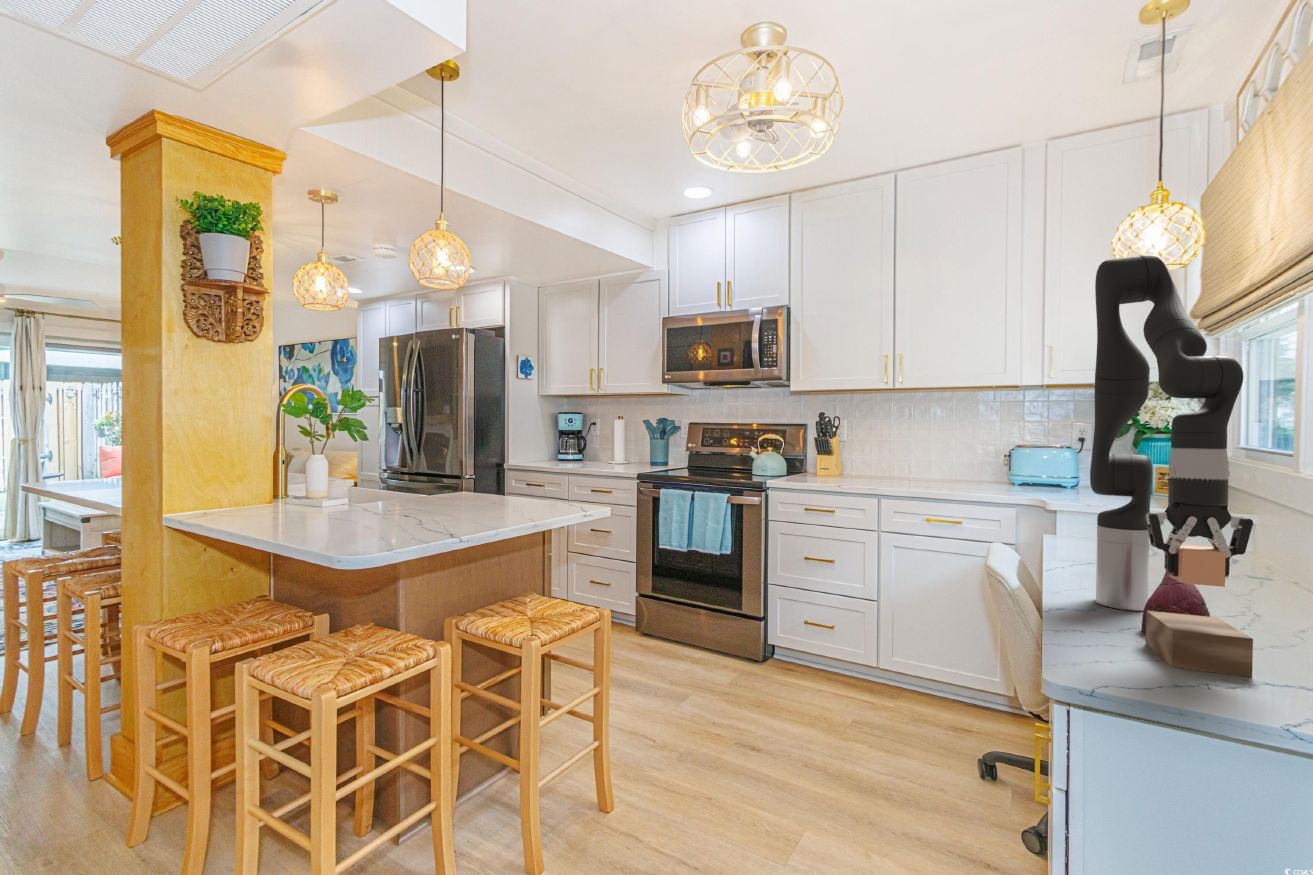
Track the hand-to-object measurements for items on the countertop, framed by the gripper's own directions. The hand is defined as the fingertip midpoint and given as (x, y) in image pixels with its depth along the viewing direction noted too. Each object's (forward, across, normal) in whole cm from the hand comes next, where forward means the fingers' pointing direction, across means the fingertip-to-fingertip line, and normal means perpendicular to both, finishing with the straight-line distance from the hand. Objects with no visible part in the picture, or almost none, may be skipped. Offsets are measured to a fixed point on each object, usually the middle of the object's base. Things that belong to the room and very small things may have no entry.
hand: (1195, 576), depth 103 cm
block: (+1, 0, 0) cm, 1 cm away
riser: (+14, 0, 0) cm, 14 cm away
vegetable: (+14, -2, -14) cm, 20 cm away
